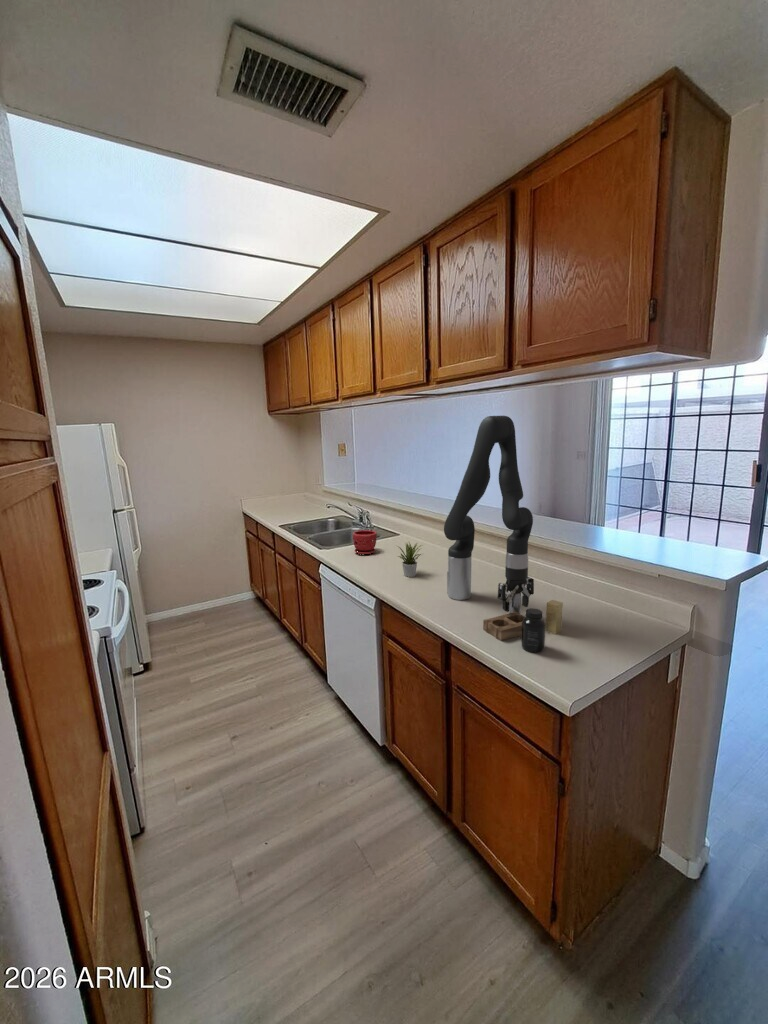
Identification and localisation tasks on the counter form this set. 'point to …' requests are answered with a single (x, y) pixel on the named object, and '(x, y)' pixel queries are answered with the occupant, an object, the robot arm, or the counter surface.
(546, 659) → the counter surface
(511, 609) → the cylinder
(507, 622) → the bore block
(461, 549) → the robot arm
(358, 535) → the plant pot
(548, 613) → the square bit
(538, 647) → the supplement bottle
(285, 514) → the counter surface
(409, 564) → the house plant
